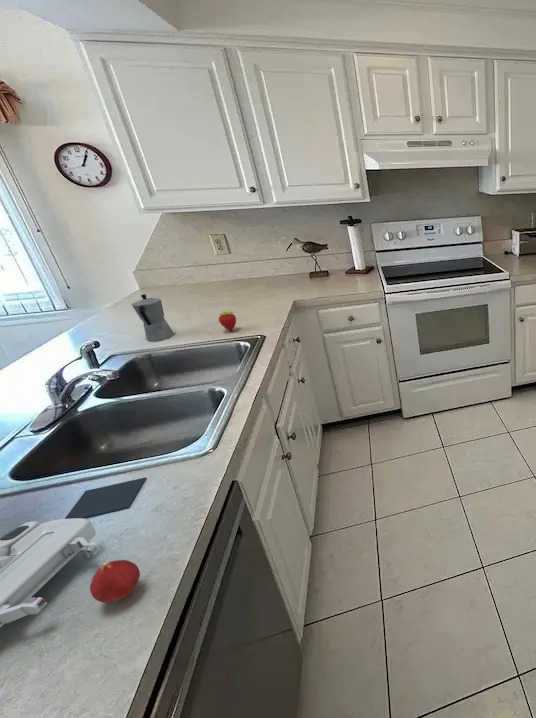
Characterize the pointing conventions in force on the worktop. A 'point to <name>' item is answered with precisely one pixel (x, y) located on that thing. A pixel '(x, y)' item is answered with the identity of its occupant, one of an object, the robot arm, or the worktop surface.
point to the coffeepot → (153, 318)
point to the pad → (106, 499)
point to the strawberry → (227, 320)
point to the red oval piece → (114, 581)
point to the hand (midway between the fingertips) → (70, 575)
